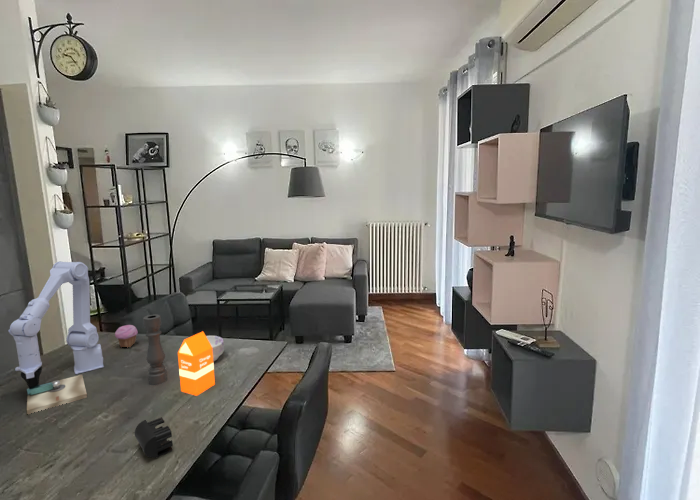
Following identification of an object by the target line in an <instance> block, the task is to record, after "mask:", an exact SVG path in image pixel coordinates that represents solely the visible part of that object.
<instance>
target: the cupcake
mask: <svg viewBox="0 0 700 500" xmlns="http://www.w3.org/2000/svg"><path fill="white" fill-rule="evenodd" d="M114 332H115V333H114V337H115V338H116V339H117V341H118V344H119V346H120V348H122V347H127V349H129V348H128V347H130V348H131V346H132V345H133V344H134V345H135V343H136V341H137V335H138V329H137V327H136V326H135V325H133V324H126V325H122V326H119V327H118V328H117V329H116V331H114ZM134 345H133V346H134ZM133 346H132V347H133Z"/></svg>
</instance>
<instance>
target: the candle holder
mask: <svg viewBox="0 0 700 500" xmlns="http://www.w3.org/2000/svg"><path fill="white" fill-rule="evenodd" d="M142 319H143V328H144V329H145V330H146V332H145V336H146V338H147V339H148V340H147V341H148V347H147V353H146V361H147V363H148V364H149V366H150V367H149V368H148V375H147V376H148V377H147V378H148V383H149V385H152V386H156V385H157V386H158V385H161V384H164V383H165V382H167V380H168V373H167V369H166V366H165V365H164V364H163V363H164V361H165V359H166V354H165V351H164V349H163V346H162V343H161V334H162V330H160V328H161V326H162V318H161V314H156V313H155V314H148V315H146V316H143V318H142Z"/></svg>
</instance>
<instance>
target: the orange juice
mask: <svg viewBox="0 0 700 500" xmlns="http://www.w3.org/2000/svg"><path fill="white" fill-rule="evenodd" d="M206 336H207V335H206V334H205V332H204V331H203V330H202V331H201V332H197V333H196V334H193V335H191V336H190V337H187V338H184V339H183V341H182V343H181V345H180V348H179V349H178V351H177V360H178V361H177V362H178V372H179V380H180V381H179V384H180V392H182V393H185V394H189V395H192V396H196V397H198V396H199V395H200V394H202V393H204V392H205V391H207V390H208V389H210V388H211V387H213V386H215V385H216V382H215V381H216V380H215V379H216V378H215V364H214V362H215V361H214V362H213V350H212V346H211V344H210V343H209V341H208V339H207V337H206Z"/></svg>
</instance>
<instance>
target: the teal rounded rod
mask: <svg viewBox="0 0 700 500" xmlns="http://www.w3.org/2000/svg"><path fill="white" fill-rule="evenodd" d="M60 386H61V385H60V381H59V380H58V379H57V380H54V381H51V382H47V383H43V384H39V385H38V386H34V387H30V388H29V387H28V388H26V393H27V396H28V395H33V394H37V393H41V392H44V391H48V390H52V389H56V388H59V387H60Z"/></svg>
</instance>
